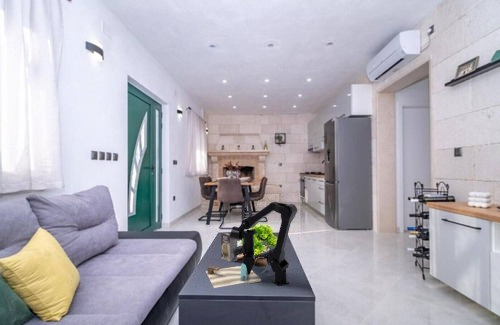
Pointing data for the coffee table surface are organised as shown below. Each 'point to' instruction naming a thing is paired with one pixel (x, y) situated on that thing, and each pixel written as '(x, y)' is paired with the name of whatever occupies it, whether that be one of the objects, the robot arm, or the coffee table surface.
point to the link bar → (243, 272)
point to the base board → (230, 277)
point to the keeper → (212, 269)
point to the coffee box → (228, 247)
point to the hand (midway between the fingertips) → (248, 270)
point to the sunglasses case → (261, 262)
